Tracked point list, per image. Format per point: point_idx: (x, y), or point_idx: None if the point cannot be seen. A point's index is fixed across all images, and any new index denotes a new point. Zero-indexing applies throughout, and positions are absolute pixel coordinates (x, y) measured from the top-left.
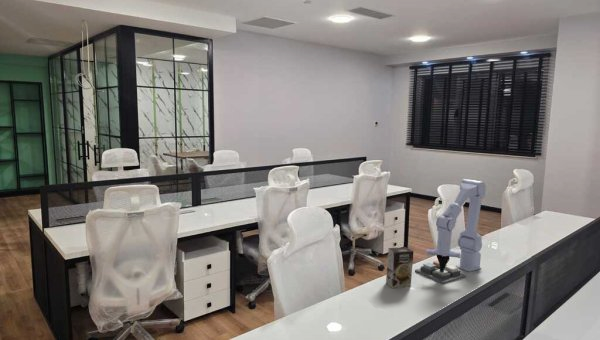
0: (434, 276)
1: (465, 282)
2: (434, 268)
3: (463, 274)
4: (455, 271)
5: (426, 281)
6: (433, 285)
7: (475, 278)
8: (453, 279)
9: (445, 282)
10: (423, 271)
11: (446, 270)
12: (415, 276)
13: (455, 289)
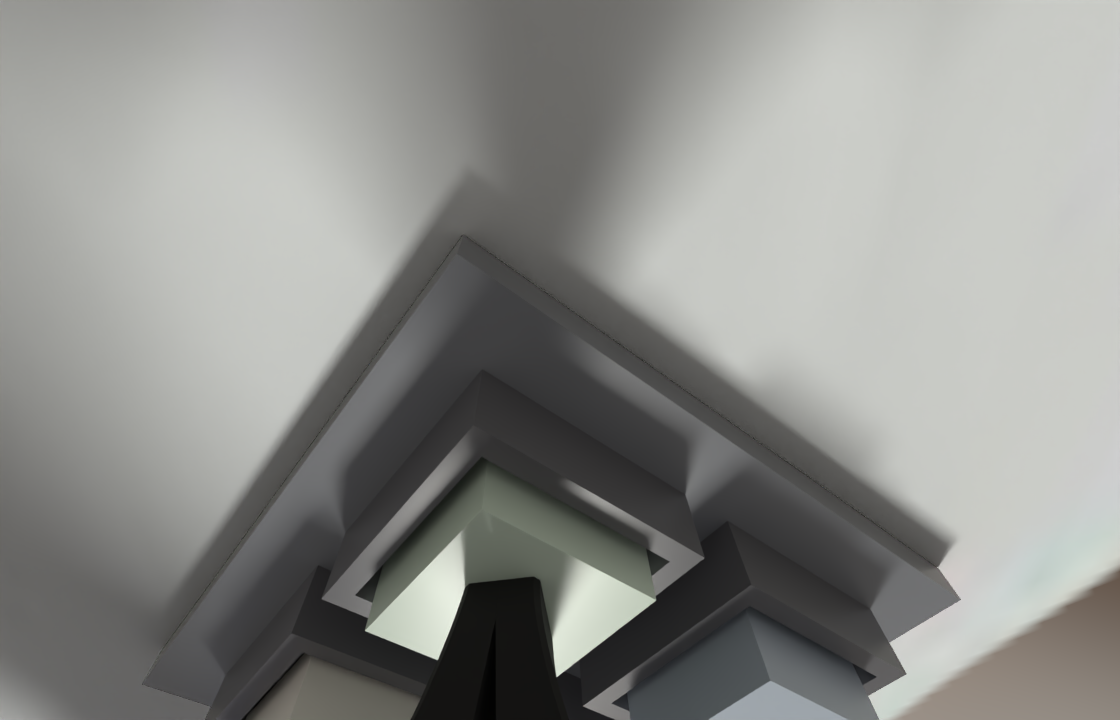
0: (643, 468)
1: (84, 493)
2: (651, 687)
3: (184, 695)
4: (268, 706)
5: (815, 244)
6: (674, 59)
7: (23, 665)
8: (281, 492)
9: (408, 316)
10: (827, 583)
11: None
12: (992, 399)
13: (108, 28)
